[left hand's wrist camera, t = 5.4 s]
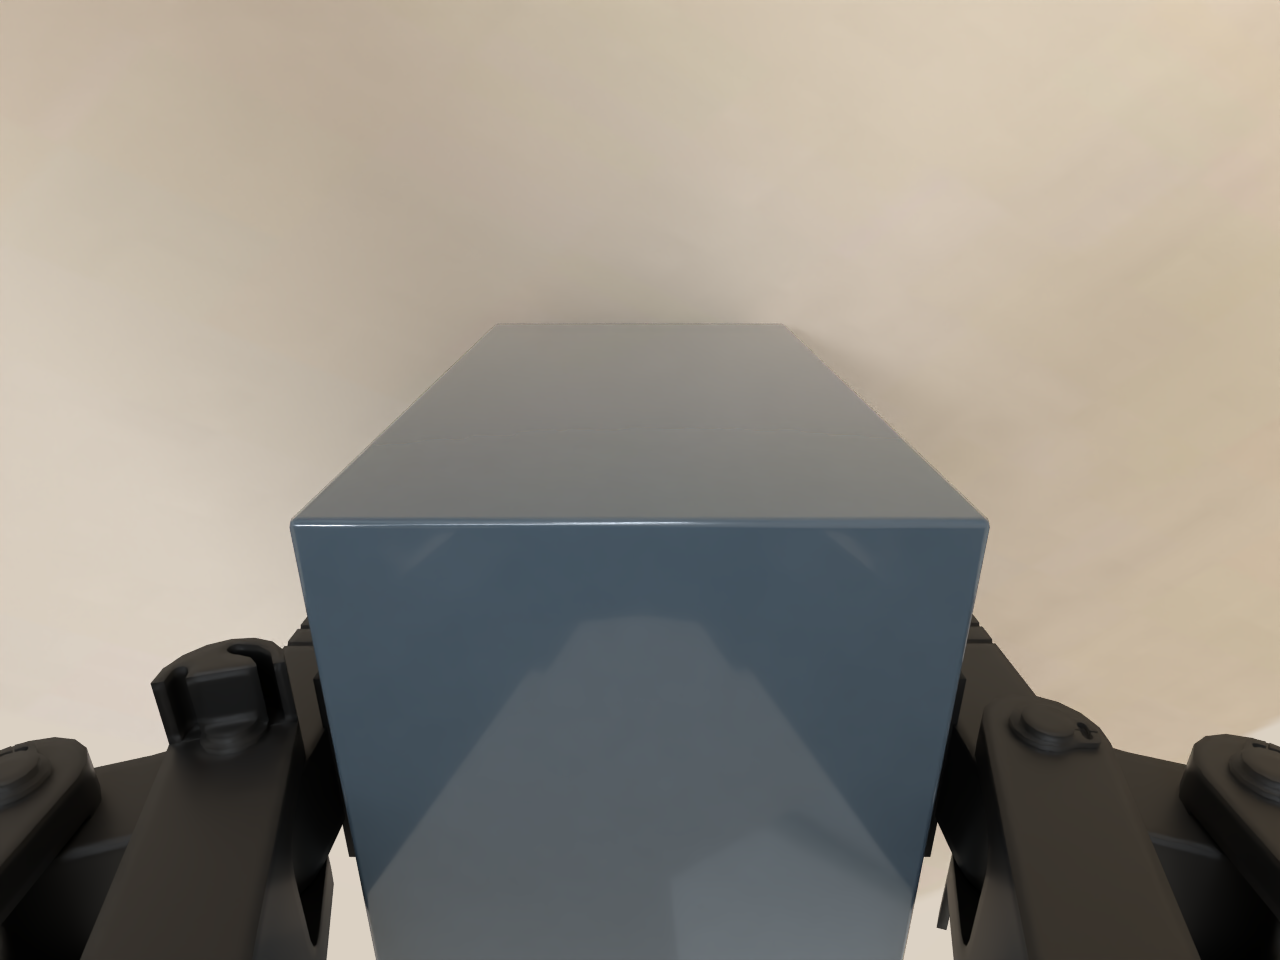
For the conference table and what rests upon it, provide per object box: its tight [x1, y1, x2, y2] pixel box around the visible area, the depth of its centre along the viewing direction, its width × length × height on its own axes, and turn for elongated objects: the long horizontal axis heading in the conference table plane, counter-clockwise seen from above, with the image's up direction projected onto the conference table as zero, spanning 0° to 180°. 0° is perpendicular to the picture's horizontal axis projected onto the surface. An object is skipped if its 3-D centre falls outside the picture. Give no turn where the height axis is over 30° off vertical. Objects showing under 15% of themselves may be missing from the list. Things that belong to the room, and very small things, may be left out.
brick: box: [290, 324, 990, 960], centre depth 12 cm, size 8×6×9 cm
